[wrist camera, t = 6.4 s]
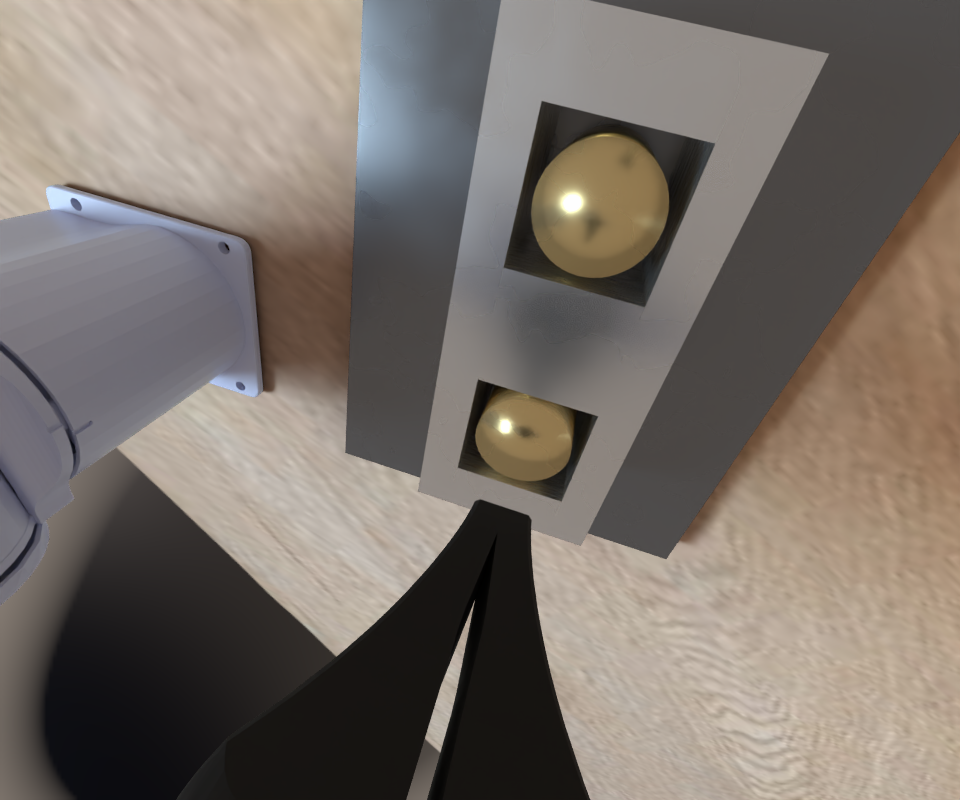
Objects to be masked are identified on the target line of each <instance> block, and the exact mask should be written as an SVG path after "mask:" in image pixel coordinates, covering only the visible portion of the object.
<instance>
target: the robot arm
mask: <svg viewBox="0 0 960 800" xmlns="http://www.w3.org/2000/svg"><path fill="white" fill-rule="evenodd" d="M46 194H47V198H48V201H49V204H50V208H51V210H47V211H43V212H38V213H33V214H28V215H23V216H18V217H13V218H8V219H4V220H0V606H1V605H2V604H3V603H4V602H5V601H6V600H8V598H10V597H11V596H12V595H13V594H14V593H15V592H16V591H17V590H18V589H19V588H20V587H21V586H22V585H23V584H24V582H26V580H27V579H28V578H29V577H30V576H31V575H32V573H33V572H34V570H35V569H36V568H37V566H38V565H39V563H40V562H41V559H42V558H43V556H44V554H45V552H46V549H47V546H48V542H49V527H48V525H47V522H46V520H47V519H48V518H50V517H51V516H53V515H54V514H55V513H57V512H58V511H59V510H61V509H62V508H63V507H64V506H66V505H67V504H69V503H70V502H71V501H73V500H74V496H73V494H72V492H71V491H70V487H69V480H70V479H72V478H73V477H74V476H76V475H77V474H79V473H80V472H82V471H83V470H84V469H86V468H87V467H89V466H90V465H92V464H93V463H94V462H96V461H97V460H98V459H100V458H102V457H103V456H104V455H106V454H107V453H109V452H110V451H112V450H113V449H114V448H116V447H117V446H119V445H120V444H122V443H123V442H124V441H126V440H127V439H129V438H130V437H132V436H133V435H134V434H136V433H137V432H139V431H140V430H142V429H143V428H144V427H146V426H147V425H149V424H150V423H152V422H153V421H154V420H156V419H157V418H159V417H160V416H162V415H163V414H164V413H166V412H167V411H169V410H170V409H172V408H173V407H174V406H176V405H177V404H179V403H180V402H181V401H183V400H184V399H186V398H187V397H189V396H190V395H191V394H193V393H194V392H196V391H197V390H199V389H200V388H201V387H203V386H204V385H206V384H207V383H211V384H214V385H217V386H220V387H223V388H226V389H229V390H232V391H235V392H238V393H242V394H245V395H248V396H251V397H257V396H258V395H260V394H261V393H262V392H263V381H262V370H261V359H260V347H259V336H258V324H257V313H256V301H255V290H254V278H253V267H252V256H251V249H250V247H249V245H248V243H247V242H246V241H245V240H244V239H242V238H240V237H237V236H234V235H230V234H227V233H223V232H220V231H217V230H213V229H210V228H206V227H203V226H199V225H196V224H193V223H189V222H186V221H182V220H179V219H176V218H172V217H169V216H165V215H162V214H158V213H155V212H152V211H148V210H145V209H141V208H138V207H134V206H131V205H128V204H124V203H121V202H117V201H114V200H110V199H107V198H104V197H100V196H97V195H93V194H90V193H86V192H83V191H80V190H76V189H73V188H69V187H66V186H63V185H51V186H48V187H47V189H46ZM225 243H226V244H227V245H228V246H229V249H230V251H229V250H228V249H227V248H226V247H225ZM242 383H243V384H244V385H245V386H244V385H243V384H242ZM531 523H532V520H531V518H530V516H529V515H527V514H524V513H521V512H518V511H515V510H511V509H508V508H505V507H502V506H499V505H496V504H493V503H490V502H487V501H484V500H481V499H479V500H476V501H475V502H474V504H473V506H472V508H471V510H470V512H469V514H468V515H467V517H466V519H465V520H464V522H463V523H462V525H461V526H460V528H459V529H458V531H457V532H456V533H455V535H454V536H453V538H452V539H451V540H450V542H449V543H448V544H447V545H446V547H445V548H444V549H443V551H442V552H441V553H440V554H439V556H438V557H437V558H436V559H435V561H434V562H433V563H432V564H431V565H430V567H429V568H428V569H427V570H426V571H425V572H424V573H423V574H422V576H421V577H420V578H419V579H418V580H417V581H416V582H415V583H414V584H413V585H412V587H411V588H410V589H409V590H408V591H407V592H406V593H405V594H404V595H403V596H402V597H401V598H400V599H399V600H398V601H397V602H396V603H395V604H394V605H393V606H392V607H391V608H390V609H389V610H388V611H387V612H386V613H385V614H384V615H383V616H382V617H381V618H380V619H379V620H378V621H377V622H376V623H375V624H374V625H372V626H371V627H370V628H369V629H368V630H367V631H366V632H365V633H363V634H362V635H361V636H360V637H359V638H358V639H357V640H356V641H354V642H353V643H352V644H351V645H350V646H349V647H348V648H346V649H345V650H344V651H343V652H342V653H340V654H339V655H338V656H337V657H336V658H334V659H333V660H332V661H331V662H330V663H328V664H327V665H326V666H324V667H323V668H322V669H321V670H319V671H318V672H317V673H315V674H314V675H313V676H312V677H310V678H309V679H308V680H306V681H305V682H304V683H303V684H301V685H300V686H299V687H297V688H296V689H295V690H294V691H292V692H291V693H290V694H288V695H287V696H286V697H284V698H283V699H282V700H280V701H279V702H277V703H276V704H275V705H273V706H271V707H270V708H269V709H267V710H266V711H264V712H263V713H261V714H260V715H259V716H257V717H256V718H255V719H253V720H251V721H250V722H248V723H247V724H246V725H244V726H243V727H241V728H240V729H238V730H237V731H236V732H234V733H233V734H232V735H230V736H229V737H228V738H227V739H226V740H225V741H224V742H223V743H222V744H221V745H220V746H219V747H218V748H217V750H216V751H215V752H214V753H213V754H212V755H211V756H210V757H209V758H208V759H207V761H206V762H205V763H204V764H203V765H202V766H201V768H200V769H199V770H198V771H197V772H196V774H195V775H194V776H193V778H192V779H191V780H190V782H189V783H188V784H187V785H186V787H185V788H184V790H183V791H182V792H181V794H180V795H179V797H178V798H177V800H406V798H407V795H408V792H409V789H410V785H411V782H412V779H413V775H414V772H415V769H416V765H417V762H418V759H419V756H420V752H421V749H422V746H423V742H424V739H425V736H426V733H427V729H428V726H429V723H430V719H431V716H432V713H433V710H434V706H435V703H436V700H437V696H438V693H439V690H440V687H441V684H442V682H443V679H444V676H445V674H446V671H447V669H448V666H449V664H450V661H451V659H452V656H453V654H454V651H455V649H456V646H457V644H458V641H459V639H460V636H461V634H462V631H463V629H464V626H465V623H466V621H467V618H468V616H469V613H470V611H471V608H472V606H473V603H474V601H475V603H474V608H473V613H472V618H471V623H470V628H469V633H468V638H467V643H466V648H465V653H464V658H463V663H462V668H461V673H460V678H459V683H458V688H457V693H456V697H455V701H454V705H453V710H452V714H451V717H450V721H449V724H448V728H447V732H446V735H445V739H444V742H443V746H442V749H441V753H440V756H439V760H438V763H437V767H436V770H435V774H434V777H433V781H432V784H431V788H430V791H429V795H428V798H427V800H590V798H589V795H588V793H587V790H586V787H585V784H584V781H583V778H582V775H581V772H580V769H579V766H578V763H577V760H576V757H575V754H574V751H573V748H572V745H571V742H570V739H569V736H568V733H567V730H566V727H565V724H564V720H563V717H562V713H561V710H560V706H559V703H558V699H557V696H556V692H555V688H554V684H553V680H552V677H551V673H550V669H549V664H548V660H547V655H546V651H545V646H544V641H543V636H542V631H541V626H540V620H539V614H538V608H537V601H536V594H535V586H534V578H533V568H532V555H531Z"/></svg>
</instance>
